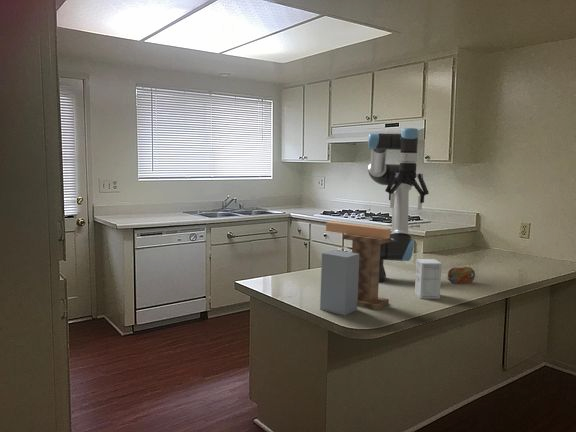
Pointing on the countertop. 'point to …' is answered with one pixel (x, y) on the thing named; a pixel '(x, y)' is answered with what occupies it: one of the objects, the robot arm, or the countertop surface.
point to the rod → (358, 230)
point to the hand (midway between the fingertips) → (405, 208)
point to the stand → (368, 269)
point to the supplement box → (428, 278)
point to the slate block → (339, 282)
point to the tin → (461, 275)
